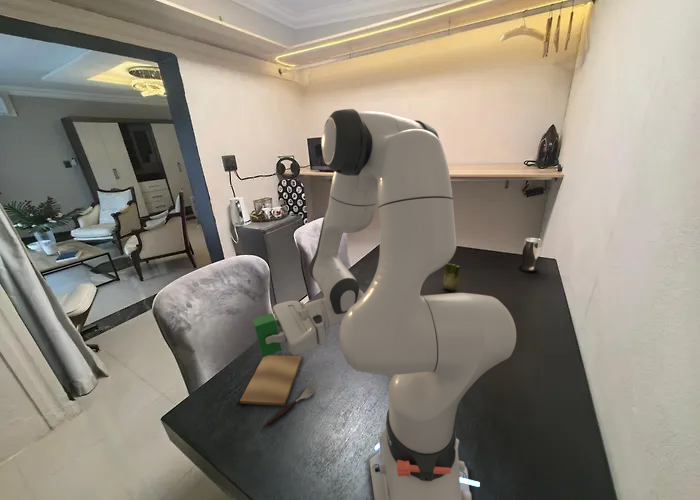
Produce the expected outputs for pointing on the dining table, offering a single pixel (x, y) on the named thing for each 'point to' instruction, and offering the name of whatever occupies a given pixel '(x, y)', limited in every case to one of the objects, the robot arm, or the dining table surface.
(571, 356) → the dining table surface
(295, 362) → the board
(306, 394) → the fork
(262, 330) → the brick
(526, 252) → the beer glass
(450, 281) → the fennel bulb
